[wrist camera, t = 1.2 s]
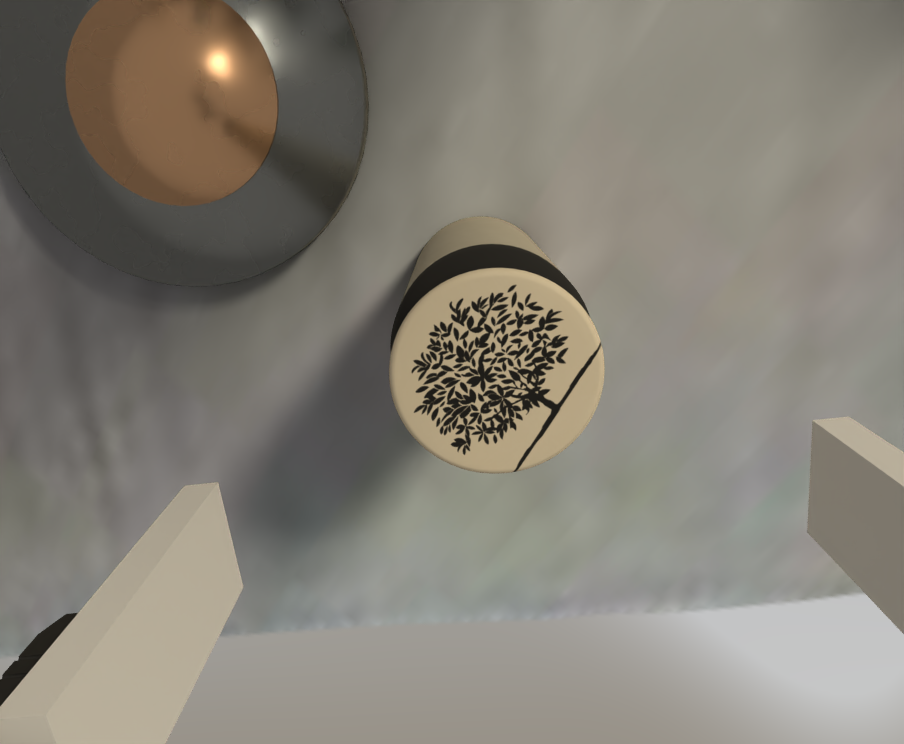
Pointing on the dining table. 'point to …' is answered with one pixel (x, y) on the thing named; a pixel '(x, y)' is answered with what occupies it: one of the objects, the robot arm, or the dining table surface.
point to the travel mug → (493, 351)
